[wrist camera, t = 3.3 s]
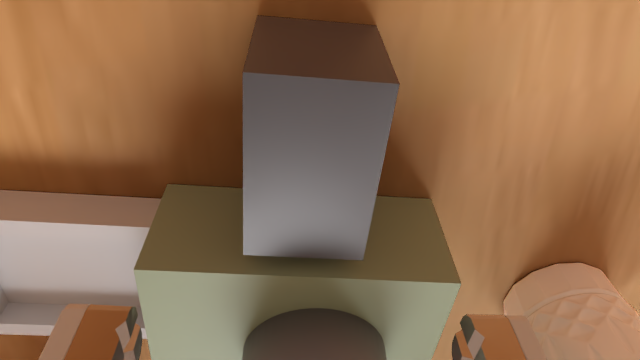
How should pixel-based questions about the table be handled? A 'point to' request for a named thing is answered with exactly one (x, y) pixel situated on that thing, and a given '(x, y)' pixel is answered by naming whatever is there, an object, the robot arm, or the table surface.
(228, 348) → the green box with dome
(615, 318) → the white cup
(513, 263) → the table surface
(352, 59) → the tall grey rectangular block
